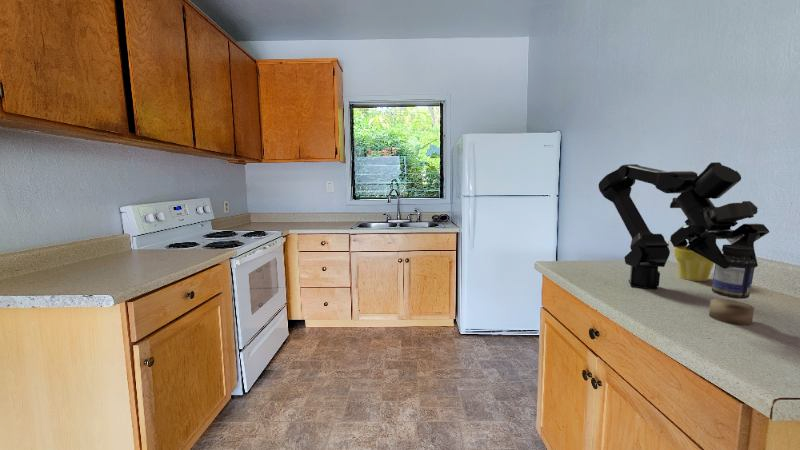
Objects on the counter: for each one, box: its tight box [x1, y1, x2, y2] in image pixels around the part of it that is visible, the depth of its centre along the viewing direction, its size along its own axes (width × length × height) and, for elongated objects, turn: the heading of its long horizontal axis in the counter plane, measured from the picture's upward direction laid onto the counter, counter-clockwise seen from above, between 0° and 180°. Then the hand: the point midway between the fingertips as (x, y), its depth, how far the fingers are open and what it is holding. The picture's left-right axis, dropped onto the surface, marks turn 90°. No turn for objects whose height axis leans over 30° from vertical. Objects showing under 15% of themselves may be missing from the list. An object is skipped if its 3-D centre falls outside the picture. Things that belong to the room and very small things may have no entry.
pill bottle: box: [711, 244, 756, 300], centre depth 73 cm, size 6×6×11 cm
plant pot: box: [673, 245, 715, 282], centre depth 106 cm, size 10×10×10 cm
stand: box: [708, 298, 755, 326], centre depth 75 cm, size 7×7×4 cm
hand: (740, 267), depth 72 cm, fingers closed on pill bottle, 6 cm apart
